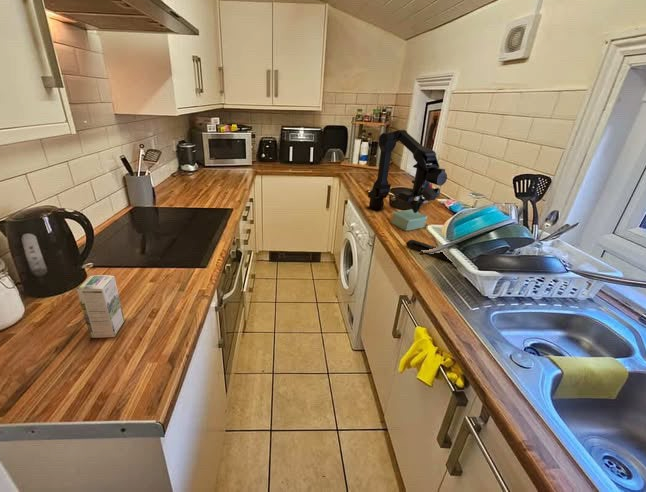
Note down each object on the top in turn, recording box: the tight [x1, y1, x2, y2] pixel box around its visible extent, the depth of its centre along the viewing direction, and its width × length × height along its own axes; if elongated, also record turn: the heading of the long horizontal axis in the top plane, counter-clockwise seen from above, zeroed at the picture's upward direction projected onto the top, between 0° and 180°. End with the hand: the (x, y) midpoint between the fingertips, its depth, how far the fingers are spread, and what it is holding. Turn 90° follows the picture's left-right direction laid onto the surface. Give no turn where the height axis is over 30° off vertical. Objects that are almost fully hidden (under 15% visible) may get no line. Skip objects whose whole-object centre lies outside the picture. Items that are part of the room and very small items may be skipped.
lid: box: [392, 208, 429, 222], centre depth 140 cm, size 10×12×1 cm
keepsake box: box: [391, 213, 427, 232], centre depth 142 cm, size 10×12×5 cm
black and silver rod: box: [406, 239, 452, 263], centre depth 117 cm, size 18×3×3 cm, turn 47°
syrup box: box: [76, 274, 125, 339], centre depth 73 cm, size 6×6×14 cm
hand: (414, 212), depth 137 cm, fingers closed
